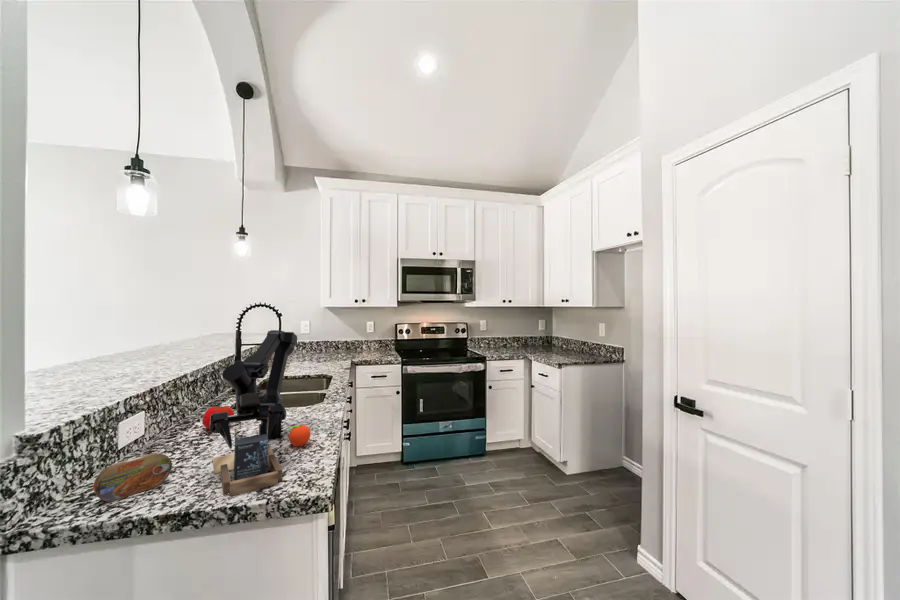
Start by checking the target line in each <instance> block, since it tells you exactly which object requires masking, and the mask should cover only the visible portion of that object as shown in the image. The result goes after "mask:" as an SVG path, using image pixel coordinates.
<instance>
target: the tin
mask: <svg viewBox="0 0 900 600" xmlns="http://www.w3.org/2000/svg"><path fill="white" fill-rule="evenodd" d="M172 468H173V463H172V460H171V458H170V457H169V456H168V455H166V454H163V453H158V452H153V453H148V454H145V455H141V456H138V457H134V458H131V459H128V460H127V459H126V460H124V461H120V462H117V463H114V464H111V465H108V466H107V467H105V468H104V469H103V470H102V471H101V472H100V473H98V475H97V476H96V477H95V479H94V482H93V486H92V487H93V493H94V494H95V495H96V496H97V498H98V499H100V500H101V501H104V502H116V501H119V500H121V499H124V498H128V497H131V496H133V495H136V494H138V493H142V492H144V491H148V490H151V489H154V488H156V487H158V486H160V485H161V484H163V483H164V482H165V481H166V480H167V479H168V477H169V476H170V474H171V472H172V470H173V469H172ZM127 496H128V497H127Z"/></svg>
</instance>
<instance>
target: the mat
mask: <svg viewBox="0 0 900 600" xmlns="http://www.w3.org/2000/svg"><path fill="white" fill-rule="evenodd" d="M234 454H235V453H231V454H227V455H222V456H216V457H212V464H213V474H214V475H219V474H220V470H221V465H224V464H227V466H228V471H229V472H234ZM273 454H274V451H273V450H272V448H271V447H270V446H268V456H269V455H273ZM274 455H275V454H274ZM267 464H268V460H267Z"/></svg>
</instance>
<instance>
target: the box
mask: <svg viewBox="0 0 900 600" xmlns="http://www.w3.org/2000/svg"><path fill="white" fill-rule="evenodd" d="M268 447H269V442H268V439H267V436H266V434H262V435H259V434H257V435H249V436H246V437H237V438H234V453H233V454H234V470H233V481H235V480H240V479H244V478H248V477H253V476H257V475H262V474H266V473H268V463H267V460H268Z"/></svg>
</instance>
